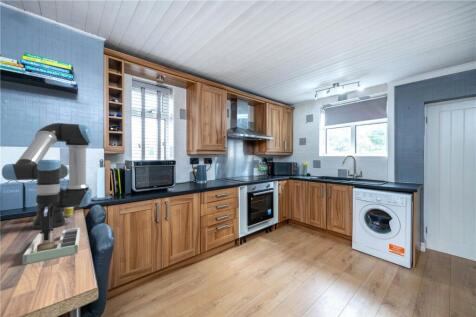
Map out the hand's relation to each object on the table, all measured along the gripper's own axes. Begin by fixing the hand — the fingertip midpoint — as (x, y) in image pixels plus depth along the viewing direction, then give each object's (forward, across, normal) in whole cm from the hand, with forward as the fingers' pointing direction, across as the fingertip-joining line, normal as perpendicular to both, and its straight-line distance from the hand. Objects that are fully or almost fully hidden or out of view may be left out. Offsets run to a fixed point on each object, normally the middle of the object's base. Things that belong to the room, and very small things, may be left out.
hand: (46, 246), depth 89 cm
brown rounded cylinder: (+2, +4, 0) cm, 4 cm away
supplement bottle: (+2, -68, +4) cm, 69 cm away
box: (+2, -3, +3) cm, 5 cm away
